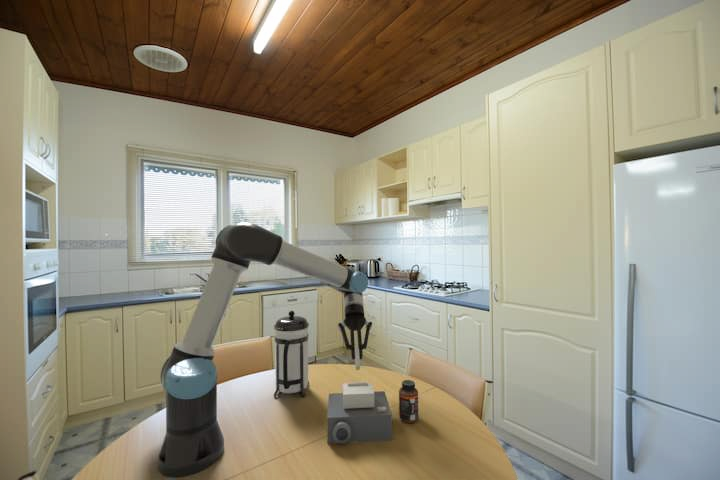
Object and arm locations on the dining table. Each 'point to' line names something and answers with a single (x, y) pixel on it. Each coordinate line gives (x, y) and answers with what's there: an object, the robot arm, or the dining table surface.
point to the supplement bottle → (408, 402)
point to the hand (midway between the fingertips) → (357, 368)
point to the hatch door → (358, 395)
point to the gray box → (358, 420)
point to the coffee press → (291, 354)
